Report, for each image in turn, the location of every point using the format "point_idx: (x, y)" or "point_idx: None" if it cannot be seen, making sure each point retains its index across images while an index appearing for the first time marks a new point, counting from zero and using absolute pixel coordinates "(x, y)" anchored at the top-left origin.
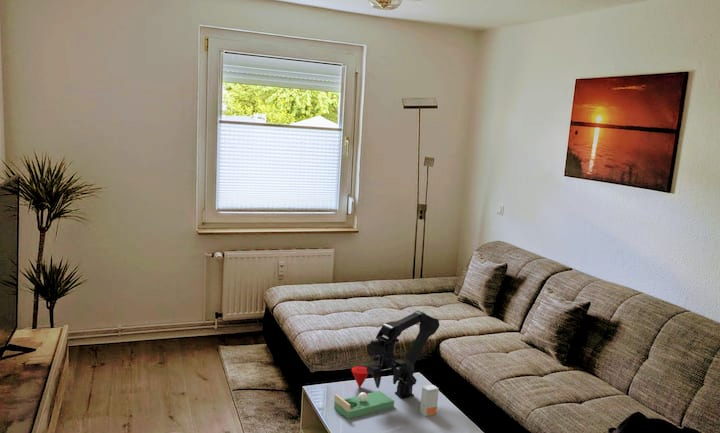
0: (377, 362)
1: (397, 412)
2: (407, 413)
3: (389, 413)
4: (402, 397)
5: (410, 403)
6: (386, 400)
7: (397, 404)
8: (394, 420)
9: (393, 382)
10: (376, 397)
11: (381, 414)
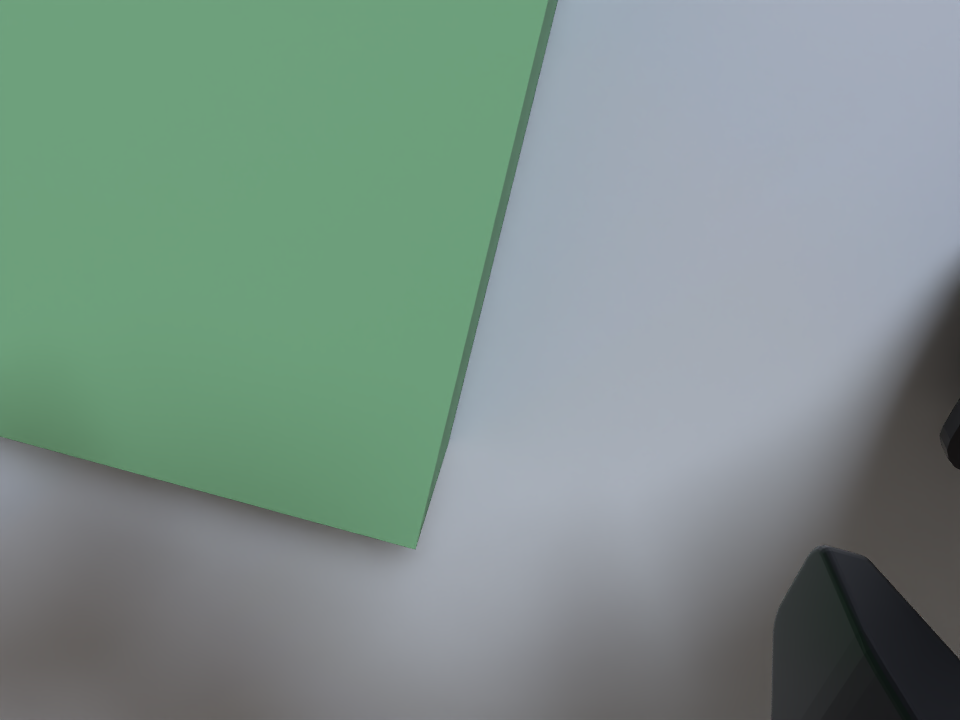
0: None
1: (345, 587)
2: (467, 702)
3: (187, 517)
4: (950, 431)
5: (896, 578)
6: (252, 422)
7: (629, 426)
8: (109, 670)
9: (824, 596)
10: (111, 118)
11: (25, 445)
